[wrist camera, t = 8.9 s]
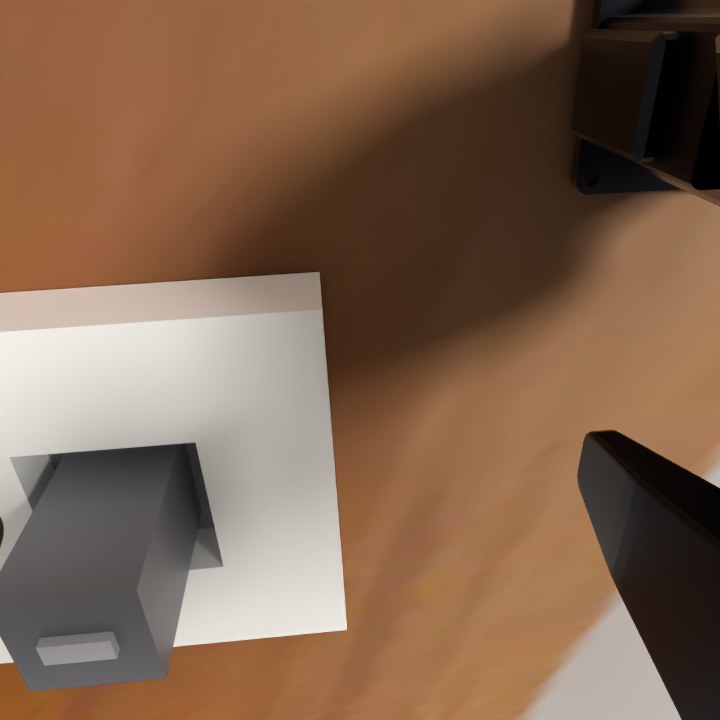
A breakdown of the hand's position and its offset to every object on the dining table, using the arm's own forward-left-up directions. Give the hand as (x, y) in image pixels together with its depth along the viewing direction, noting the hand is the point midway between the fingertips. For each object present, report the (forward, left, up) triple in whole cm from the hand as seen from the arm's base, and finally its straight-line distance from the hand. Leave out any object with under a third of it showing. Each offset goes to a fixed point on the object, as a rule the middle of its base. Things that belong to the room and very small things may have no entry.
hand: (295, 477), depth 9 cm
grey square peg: (+7, +9, -11) cm, 16 cm away
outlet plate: (+7, +9, -12) cm, 17 cm away
